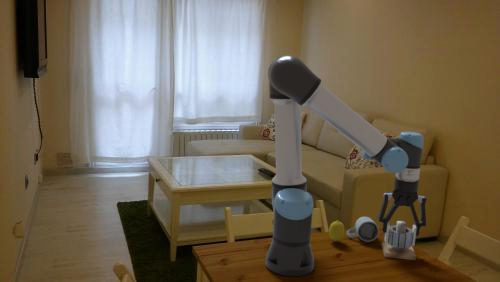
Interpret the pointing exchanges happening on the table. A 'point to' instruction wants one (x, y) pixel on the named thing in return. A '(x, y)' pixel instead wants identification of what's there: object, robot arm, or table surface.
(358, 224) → the ceramic mug
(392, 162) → the robot arm
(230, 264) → the table surface
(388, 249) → the shaft stand
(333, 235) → the lemon
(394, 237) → the ring
